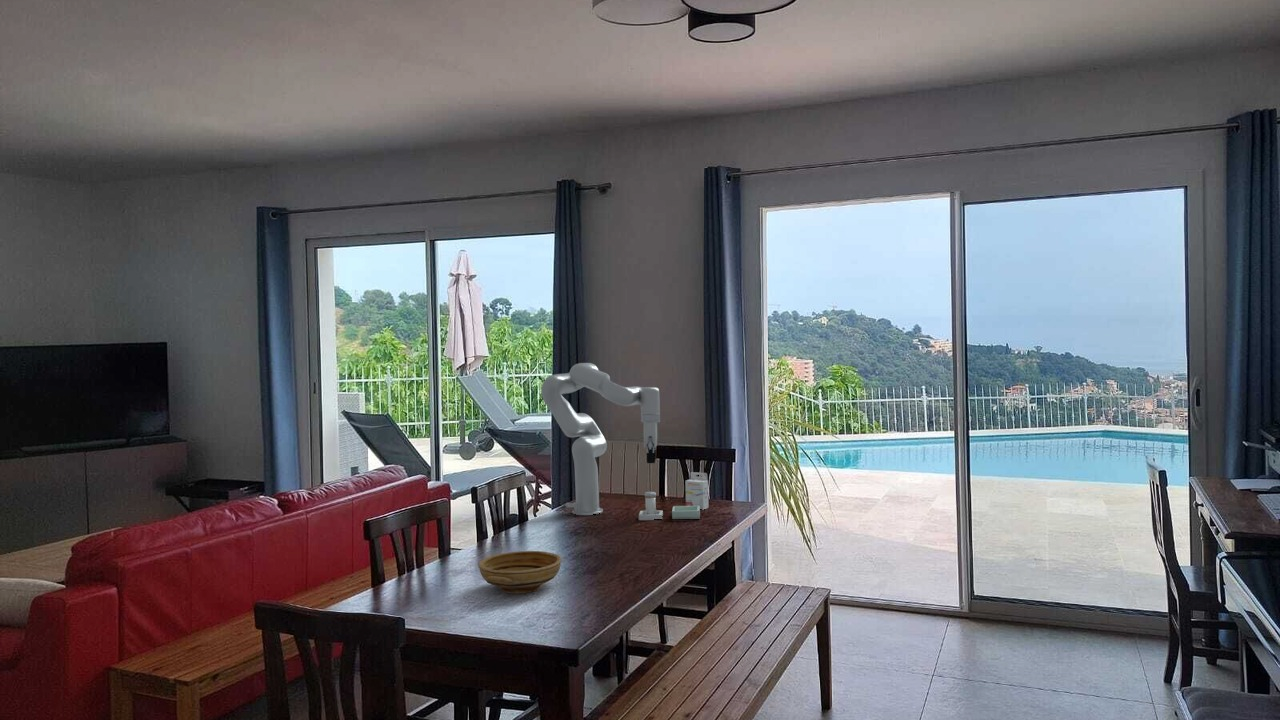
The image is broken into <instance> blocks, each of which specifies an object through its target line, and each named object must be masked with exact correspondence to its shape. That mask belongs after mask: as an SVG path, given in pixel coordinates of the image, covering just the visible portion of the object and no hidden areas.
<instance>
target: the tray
mask: <svg viewBox="0 0 1280 720" xmlns="http://www.w3.org/2000/svg"><path fill="white" fill-rule="evenodd" d="M671 518H672V519H701V510H700V506H686V505H673V506H672V510H671Z"/></svg>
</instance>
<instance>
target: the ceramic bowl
mask: <svg viewBox="0 0 1280 720" xmlns="http://www.w3.org/2000/svg"><path fill="white" fill-rule="evenodd" d="M562 561H563V558H562V557H561V556H560V555H559V554H556V553H554V552H550V551H549V552H548V551H541V550H540V551H539V550H518V551H511V552H509V551H508V552H504V553H503V552H502V553H498V554H494V555H490V556H487V557H484V558H483V559H481V560H479V562H478V563H477V566H478V568H479V572H480V573H479V574H480V576H481V577H482V578H483V580H485V582H487V583H488V584H489V585H492V586H494V587H498V588H500V589H501V590H502V591H503V592H504V593H507V592H509V593H508V594H528V593H532V591H533V592H535V590H536V591H537V590H539V589H540V588H541V586H542V585H544V584H546V583H548V582H550V581H552V580H553V579H555V577H556V576H557V575H558V573H559V571H560V568H561V565H562ZM527 592H528V593H527Z"/></svg>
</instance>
